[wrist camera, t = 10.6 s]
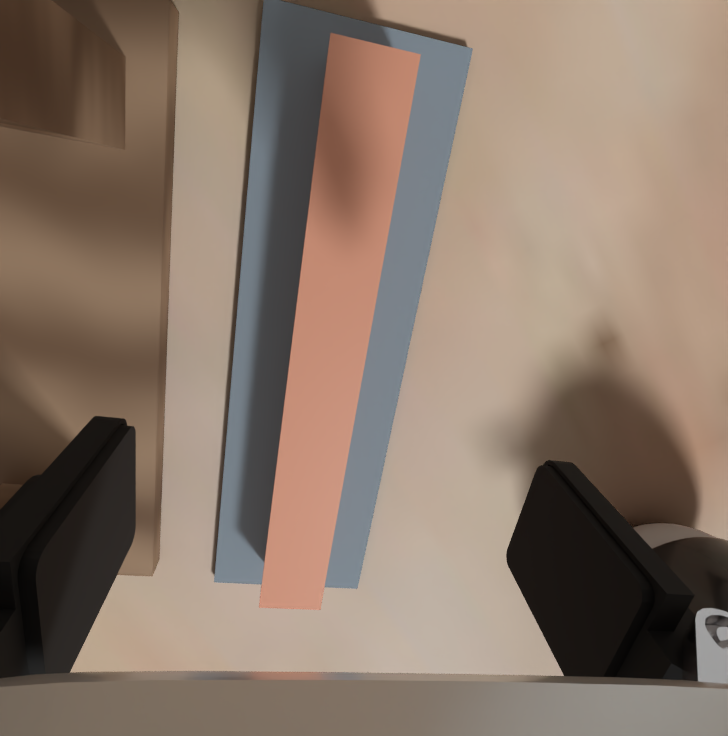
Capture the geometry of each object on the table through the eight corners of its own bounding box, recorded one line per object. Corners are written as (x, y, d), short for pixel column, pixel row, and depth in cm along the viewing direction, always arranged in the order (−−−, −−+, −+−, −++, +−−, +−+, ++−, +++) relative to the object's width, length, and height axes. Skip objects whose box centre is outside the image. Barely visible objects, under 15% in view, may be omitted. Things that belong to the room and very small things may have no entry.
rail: (327, 58, 18) (330, 32, 15) (403, 76, 18) (421, 54, 15) (264, 562, 25) (258, 607, 23) (318, 565, 26) (320, 609, 23)
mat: (264, 0, 17) (264, -4, 17) (469, 51, 18) (472, 48, 18) (215, 576, 26) (214, 582, 25) (356, 583, 27) (357, 588, 27)
